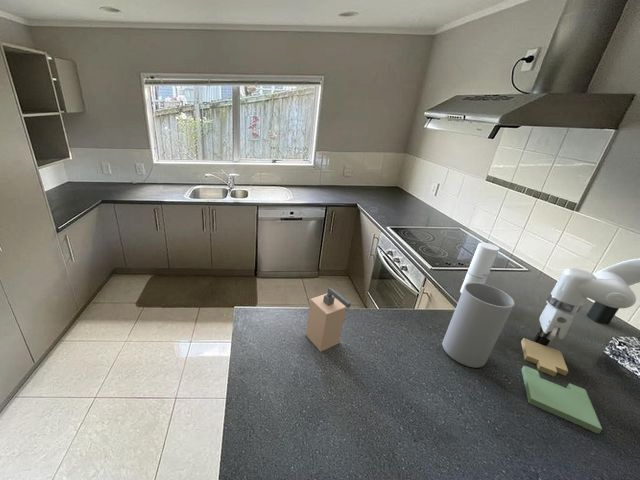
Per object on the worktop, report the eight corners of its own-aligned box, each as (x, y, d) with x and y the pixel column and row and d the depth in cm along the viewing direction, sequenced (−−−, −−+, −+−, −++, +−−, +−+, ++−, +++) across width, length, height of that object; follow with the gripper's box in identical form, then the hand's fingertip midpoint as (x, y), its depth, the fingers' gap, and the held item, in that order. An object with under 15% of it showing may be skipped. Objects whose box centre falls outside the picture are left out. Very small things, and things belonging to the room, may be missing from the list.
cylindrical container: (482, 299, 126) (503, 250, 116) (466, 298, 126) (486, 249, 116) (471, 289, 132) (490, 242, 123) (456, 289, 132) (474, 241, 123)
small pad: (558, 355, 97) (561, 351, 97) (567, 382, 88) (570, 377, 87) (521, 341, 103) (523, 337, 102) (525, 365, 93) (528, 360, 92)
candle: (596, 322, 114) (630, 270, 104) (584, 314, 119) (616, 263, 109) (610, 324, 113) (646, 272, 104) (598, 316, 118) (631, 265, 108)
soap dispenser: (305, 334, 102) (312, 284, 93) (323, 327, 106) (331, 278, 97) (328, 361, 92) (339, 307, 83) (348, 352, 95) (359, 299, 87)
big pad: (582, 393, 84) (585, 389, 83) (598, 434, 74) (602, 429, 73) (521, 369, 91) (523, 365, 91) (528, 403, 81) (531, 398, 80)
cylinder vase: (482, 375, 89) (513, 313, 79) (438, 353, 96) (461, 294, 87) (486, 353, 97) (515, 294, 88) (445, 334, 105) (467, 278, 95)
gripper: (586, 320, 86) (558, 363, 93) (573, 296, 97) (549, 336, 105) (553, 310, 90) (528, 352, 97) (544, 288, 101) (522, 327, 109)
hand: (539, 344), depth 101 cm, fingers closed
